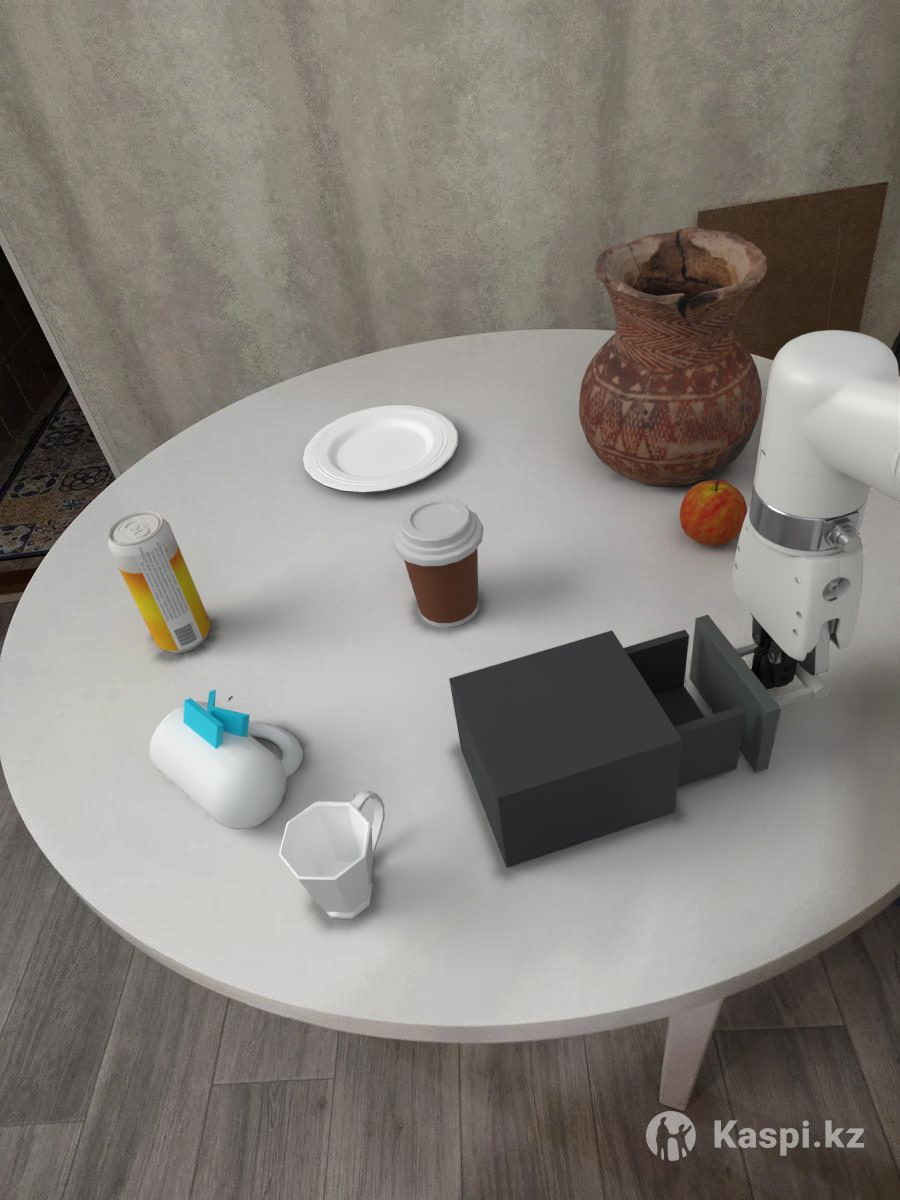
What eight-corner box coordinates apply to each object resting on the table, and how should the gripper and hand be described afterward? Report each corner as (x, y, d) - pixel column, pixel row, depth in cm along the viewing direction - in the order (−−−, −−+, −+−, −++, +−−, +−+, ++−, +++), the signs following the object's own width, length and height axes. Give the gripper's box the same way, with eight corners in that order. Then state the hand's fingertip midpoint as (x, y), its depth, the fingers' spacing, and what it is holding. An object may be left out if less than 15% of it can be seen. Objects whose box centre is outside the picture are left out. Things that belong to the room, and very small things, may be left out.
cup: (285, 915, 68) (258, 860, 63) (352, 814, 74) (333, 757, 69) (360, 951, 65) (338, 897, 60) (423, 843, 71) (409, 786, 66)
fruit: (675, 520, 99) (679, 461, 93) (738, 518, 98) (746, 459, 92) (680, 559, 94) (685, 499, 88) (747, 558, 92) (756, 497, 87)
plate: (446, 503, 106) (444, 490, 105) (286, 503, 110) (282, 490, 109) (470, 414, 121) (468, 402, 120) (328, 417, 125) (325, 405, 124)
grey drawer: (761, 656, 81) (772, 594, 76) (835, 747, 73) (853, 685, 67) (564, 716, 78) (562, 657, 73) (617, 818, 70) (619, 759, 65)
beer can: (196, 609, 97) (150, 500, 87) (222, 635, 93) (177, 525, 83) (147, 636, 94) (94, 528, 84) (171, 665, 91) (118, 555, 80)
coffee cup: (501, 583, 94) (492, 493, 86) (477, 642, 88) (465, 551, 80) (422, 574, 97) (407, 486, 89) (394, 630, 91) (374, 541, 83)
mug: (234, 766, 67) (149, 696, 73) (228, 858, 70) (148, 783, 77) (347, 718, 75) (262, 659, 82) (336, 802, 79) (256, 739, 86)
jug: (759, 509, 98) (792, 296, 82) (573, 507, 103) (569, 304, 86) (746, 408, 114) (771, 213, 97) (585, 410, 118) (583, 223, 102)
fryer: (611, 703, 80) (612, 629, 74) (675, 812, 71) (682, 739, 64) (461, 749, 78) (448, 678, 72) (506, 868, 69) (497, 798, 62)
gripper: (923, 555, 57) (865, 732, 69) (792, 444, 68) (762, 613, 80) (821, 586, 56) (780, 760, 68) (705, 468, 67) (688, 636, 79)
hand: (771, 680), depth 74 cm, fingers closed
